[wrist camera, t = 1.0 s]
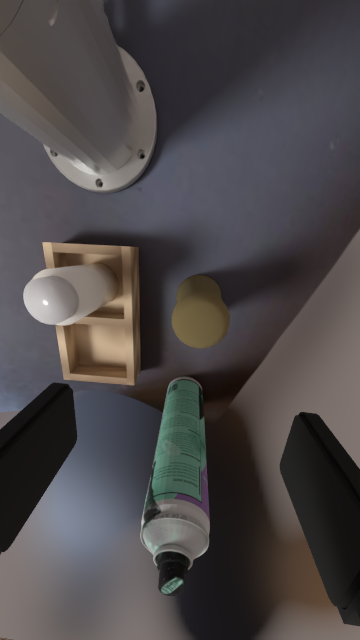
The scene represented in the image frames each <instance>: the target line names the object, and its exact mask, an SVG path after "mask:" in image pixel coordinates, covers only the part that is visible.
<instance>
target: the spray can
mask: <svg viewBox="0 0 360 640" xmlns="http://www.w3.org/2000/svg"><path fill="white" fill-rule="evenodd" d="M141 524H142V528H141V534H140V538H141V541H142V543H143V545H144V546H145V547H146V548H147V549H148V550H149V551H150V552H151V553H152V554H153V555H154V557H153V561H154V563H155V564H156V566H157V568H158V570H159V571H160V573H159V586H158V588H159V590H160V592H161V593H163V594H165V595H168V596H176V595H180V594H181V593H182V592H183V590H184V584H185V574H187V572H188V569H190V568H191V567H192V564H193V559H195V558H197V557H199V556H200V555H202V554H203V553H205V551H206V550H207V549H208V546H209V531H210V523H209V504H208V486H207V466H206V448H205V429H204V409H203V392H202V387H201V385H200V384H199V382H198V381H196V380H195V379H193V378H191V377H178V378H176V379H174V380H173V381H172V382H171V383H170V384H169V386H168V390H167V395H166V400H165V405H164V410H163V415H162V420H161V425H160V430H159V436H158V441H157V446H156V451H155V456H154V461H153V466H152V471H151V476H150V481H149V486H148V491H147V496H146V501H145V506H144V511H143V516H142V522H141Z"/></svg>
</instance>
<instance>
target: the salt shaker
mask: <svg viewBox="0 0 360 640" xmlns="http://www.w3.org/2000/svg"><path fill="white" fill-rule="evenodd" d="M118 290H119V282H118V278H117V276H116V274H115V273H114V272H113V270H112V269H110V268H109V267H108V266H106V265H104V264H100V263H93V264H85V265H76V266H68V267H60V268H52V269H45V270H42V271H40V272H39V273H37V274H36V275H35V276H34V277H33V279H32V280H31V281H30V282H29V283H28V284H27V285H26V287H25V289H24V294H23V298H24V303H25V306H26V308H27V310H28V311H29V313H30V314H31V315H32V316H33V317H34V318H36V319H37V320H38V321H40V322H43V323H45V324H56V325H70V324H73V323H75V322H76V321H78V320H80V319H82V318H83V317H85V316H87V315H88V314H90V313H92V312H93V311H95V310H97V309H98V308H100V307H102V306H103V305H105V304H107V303H108V302H110V301H112V300H113V299H114V298H115V297H116V295H117V293H118Z"/></svg>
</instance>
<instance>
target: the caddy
mask: <svg viewBox="0 0 360 640" xmlns="http://www.w3.org/2000/svg"><path fill="white" fill-rule="evenodd" d="M43 249H44V255H45V261H46V268H47V269H52V268H60V267H68V266H76V265H85V264H93V263H100V264H104V265H106V266H108V267H109V268H110V269H112V270H113V272H114V273H115V274H116V276H117V278H118V282H119V290H118V293H117V295H116V297H115V298H114V299H113V300H112V301H110V302H108V303H107V304H105V305H103V306H102V307H100V308H98V309H97V310H95V311H93V312H92V313H90V314H88V315H87V316H85V317H83V318H82V319H80V320H78V321H76V322H75V323H73V324H70V325H56V324H55V325H56V332H57V338H58V344H59V351H60V357H61V364H62V370H63V376H64V379H66V380H78V381H90V382H102V383H114V384H125V385H135V383H136V380H137V378H138V376H139V374H140V372H141V362H140V300H139V247H128V246H108V245H88V244H68V243H48V242H43Z"/></svg>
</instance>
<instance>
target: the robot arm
mask: <svg viewBox="0 0 360 640" xmlns="http://www.w3.org/2000/svg"><path fill="white" fill-rule="evenodd" d="M142 90H144V91H143V92H141V91H142ZM0 113H1V114H2V115H3V116H5V117H6V118H8V119H9V120H10V121H12V122H13V123H15V124H16V125H18V126H19V127H20V128H22V129H23V130H25V131H26V132H27V133H29V134H30V135H32V136H33V137H35V138H36V139H37V140H39V141H40V142H42V143H43V145H44V148H45V150H46V151H47V153H48V155H49V157H50V159H51V160H52V162H53V163H54V164H55V166H56V167H57V168H58V170H59V171H60V172H61V173H62V174H63V175H64V176H65V177H66V178H67V179H69V180H70V181H72V182H73V183H75V184H76V185H78V186H80V187H82V188H84V189H86V190H89V191H92V192H95V193H105V194H106V193H113V192H118V191H120V190H123V189H125V188H127V187H128V186H130V185H131V184H133V183H134V182H135V181H136V180H137V179H138V178H139V177H140V176H141V175H142V174H143V172H144V171H145V169H146V168H147V166H148V165H149V162H150V160H151V158H152V155H153V152H154V148H155V144H156V139H157V112H156V108H155V103H154V99H153V95H152V92H151V89H150V86H149V83H148V81H147V79H146V77H145V75H144V73H143V71H142V70H141V68H140V67H139V65H138V64H137V63H136V61H135V60H134V59H133V58H132V57H131V56H130V55H129V54H128V53H127V52H126V51H125V50H124V49H123V48H121V47H120V46H118V45H116V42H115V39H114V37H113V34H112V32H111V29H110V25H109V20H108V18H107V16H106V14H105V13H104V0H0ZM143 155H144V156H145V158H144V159H141V157H142V156H143ZM102 183H103V186H102V187H101V184H102ZM76 440H77V430H76V419H75V410H74V400H73V390H72V388H70V387H69V385H68V384H62V383H52V384H51V385H50V386H48V387H47V388H46V389H45V390H44V391H43V392H42V393H41V394H39V395H38V396H37V397H36V398H35V399H34V400H33V401H32V402H31V403H29V404H28V405H27V406H26V407H25V408H24V409H23V410H22V411H20V413H18V414H17V415H16V416H15V417H14V418H13V419H12V420H10V421H9V422H8V423H7V424H6V425H5V426H4V427H3V428H1V429H0V554H1V552H5V551H6V550H7V549H8V548H9V547H10V546H11V544H12V543H13V541H14V540H15V538H16V536H17V535H18V533H19V532H20V530H21V529H22V527H23V525H24V524H25V522H26V521H27V519H28V518H29V516H30V514H31V513H32V511H33V510H34V508H35V507H36V505H37V504H38V502H39V500H40V499H41V497H42V496H43V494H44V493H45V491H46V489H47V488H48V486H49V485H50V483H51V482H52V480H53V479H54V477H55V475H56V474H57V472H58V471H59V469H60V468H61V466H62V464H63V463H64V461H65V460H66V458H67V457H68V455H69V453H70V452H71V450H72V448H73V447H74V445H75V443H76ZM280 471H281V475H282V477H283V480H284V483H285V485H286V488H287V490H288V493H289V496H290V498H291V501H292V503H293V506H294V508H295V511H296V514H297V516H298V519H299V522H300V524H301V526H302V529H303V532H304V535H305V537H306V540H307V542H308V545H309V548H310V550H311V553H312V555H313V558H314V560H315V563H316V566H317V568H318V571H319V574H320V576H321V579H322V581H323V584H324V587H325V589H326V591H327V594H328V596H329V599H330V600H331V602H332V603H333V605H334V606H337V608H338V610H339V613H340V615H341V618H342V620H343V622H344V624H350V625H356V626H360V469H359V468H358V466H357V465H356V464H355V462H354V461H353V460H352V458H351V457H350V456H349V454H348V453H347V452H346V450H345V449H344V448H343V447H342V445H341V444H340V443H339V441H338V440H337V439H336V437H335V436H334V435H333V433H332V432H331V431H330V429H329V428H328V427H327V425H326V424H325V423H324V421H323V420H322V419H321V418H320V416H319V415H317V414H313V413H306V412H300V413H299V415H296V416H295V418H294V420H293V424H292V427H291V430H290V433H289V436H288V439H287V443H286V446H285V449H284V452H283V455H282V458H281V462H280ZM0 640H11V639H5V638H0Z"/></svg>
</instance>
